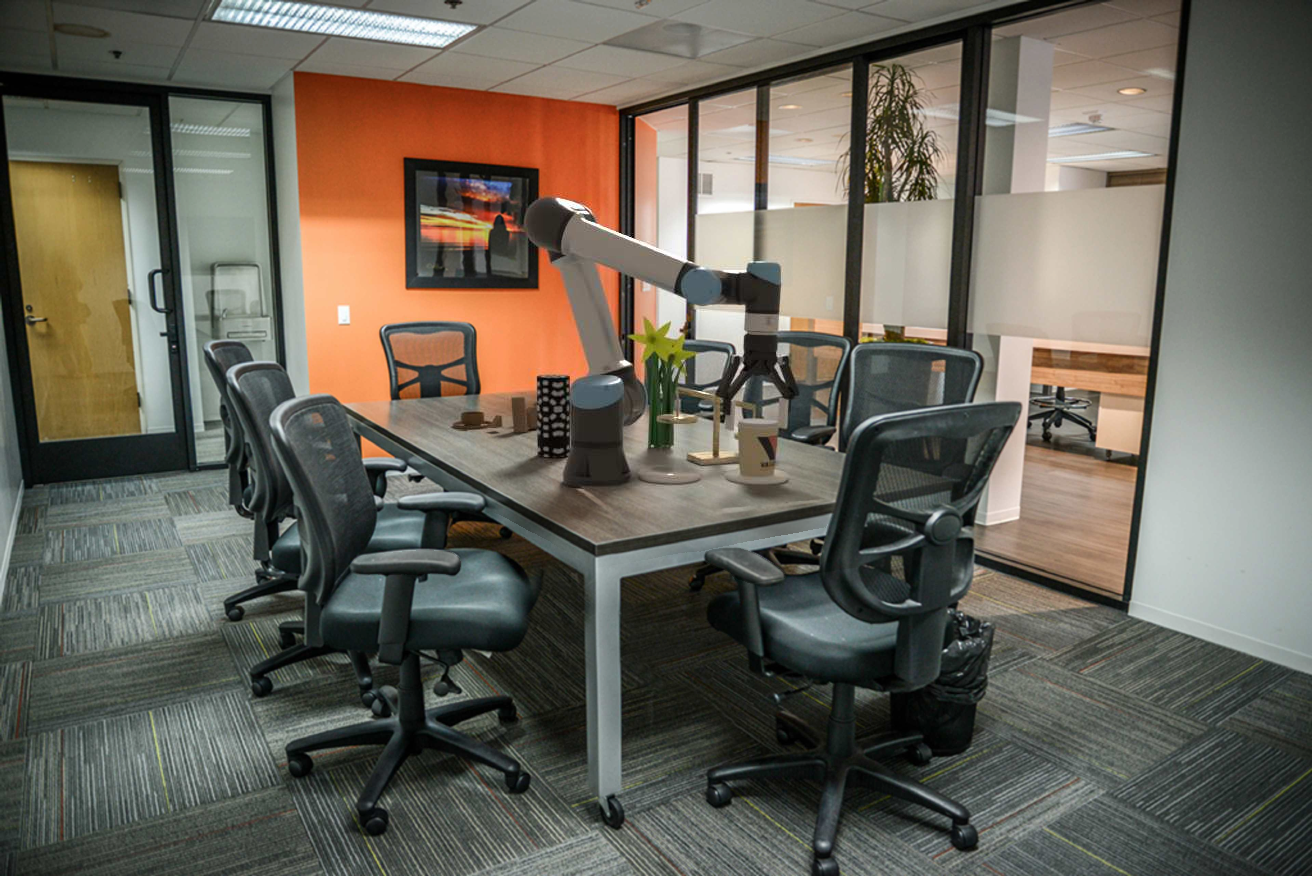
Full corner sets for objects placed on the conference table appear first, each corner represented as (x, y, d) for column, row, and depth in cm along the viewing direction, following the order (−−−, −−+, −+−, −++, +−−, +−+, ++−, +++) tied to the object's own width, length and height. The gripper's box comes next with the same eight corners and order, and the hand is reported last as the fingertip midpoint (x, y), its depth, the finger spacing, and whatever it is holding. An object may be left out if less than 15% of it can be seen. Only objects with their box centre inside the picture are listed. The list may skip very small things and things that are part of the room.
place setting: (474, 423, 282) (474, 405, 281) (528, 428, 274) (527, 409, 273) (439, 431, 267) (438, 411, 266) (494, 436, 258) (494, 416, 257)
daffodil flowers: (665, 441, 250) (666, 315, 244) (703, 448, 240) (705, 316, 234) (619, 447, 239) (620, 315, 233) (657, 455, 228) (659, 317, 222)
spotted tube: (531, 455, 226) (530, 377, 222) (547, 450, 233) (546, 374, 230) (560, 458, 223) (560, 378, 219) (575, 453, 230) (575, 375, 227)
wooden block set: (540, 426, 274) (537, 393, 273) (556, 428, 267) (553, 394, 266) (488, 433, 262) (485, 398, 261) (504, 435, 256) (501, 399, 254)
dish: (744, 486, 193) (744, 482, 193) (714, 474, 205) (714, 470, 205) (799, 481, 198) (800, 477, 198) (767, 470, 211) (767, 465, 211)
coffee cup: (764, 479, 195) (766, 425, 193) (728, 474, 201) (729, 421, 199) (785, 473, 203) (787, 420, 201) (749, 467, 208) (751, 416, 206)
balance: (666, 468, 211) (667, 389, 208) (649, 461, 220) (650, 385, 217) (780, 459, 224) (782, 385, 221) (760, 453, 233) (762, 381, 230)
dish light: (653, 485, 193) (653, 481, 193) (629, 473, 205) (629, 469, 205) (711, 480, 198) (711, 476, 198) (684, 469, 211) (684, 464, 211)
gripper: (718, 334, 188) (714, 433, 192) (818, 334, 198) (812, 429, 202) (702, 331, 195) (699, 427, 198) (799, 332, 205) (794, 423, 208)
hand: (756, 428), depth 200 cm, fingers open, 13 cm apart
